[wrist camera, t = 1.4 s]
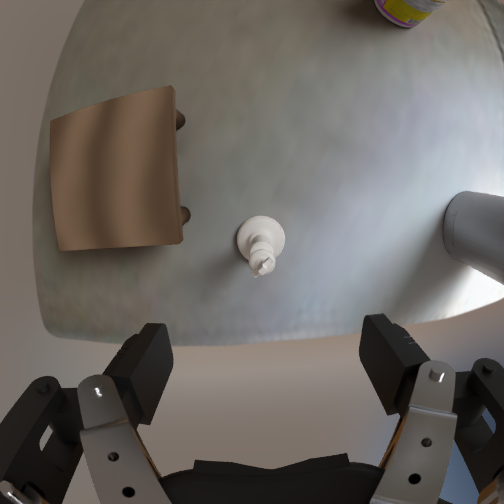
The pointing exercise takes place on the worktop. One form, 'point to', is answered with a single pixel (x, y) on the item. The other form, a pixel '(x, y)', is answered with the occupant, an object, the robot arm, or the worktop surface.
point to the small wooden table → (118, 173)
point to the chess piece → (261, 243)
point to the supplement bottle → (407, 10)
